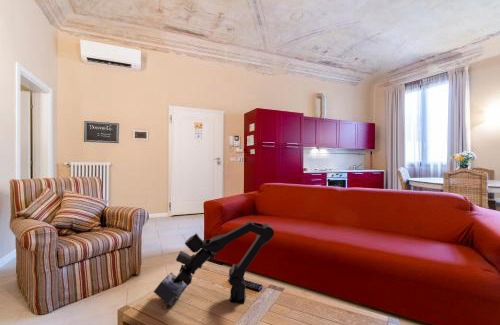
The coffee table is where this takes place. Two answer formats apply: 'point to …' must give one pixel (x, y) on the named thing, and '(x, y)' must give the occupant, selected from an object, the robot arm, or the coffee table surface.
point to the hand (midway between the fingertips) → (173, 282)
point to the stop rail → (164, 305)
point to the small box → (170, 289)
